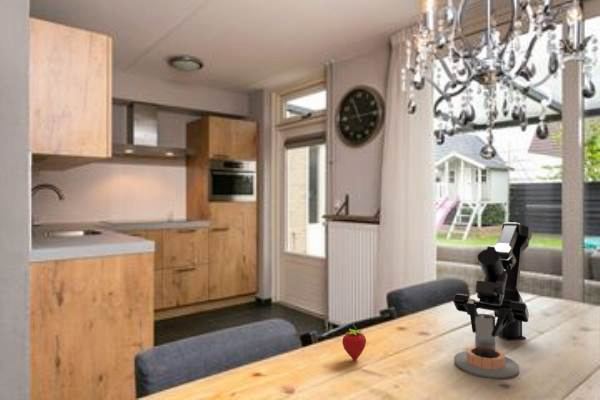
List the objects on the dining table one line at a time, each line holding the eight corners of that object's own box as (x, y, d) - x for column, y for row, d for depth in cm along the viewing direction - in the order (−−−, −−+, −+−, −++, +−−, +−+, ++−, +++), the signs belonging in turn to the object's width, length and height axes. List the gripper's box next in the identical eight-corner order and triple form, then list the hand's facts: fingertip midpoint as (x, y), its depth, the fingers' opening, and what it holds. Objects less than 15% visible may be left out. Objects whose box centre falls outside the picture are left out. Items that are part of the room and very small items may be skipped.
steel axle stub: (481, 351, 110) (481, 312, 110) (499, 357, 106) (498, 316, 106) (471, 356, 107) (471, 316, 107) (489, 362, 103) (489, 320, 103)
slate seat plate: (493, 352, 115) (493, 340, 115) (533, 376, 100) (533, 362, 100) (443, 356, 113) (442, 344, 113) (476, 381, 97) (476, 367, 97)
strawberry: (337, 360, 111) (337, 325, 111) (356, 353, 116) (355, 319, 116) (352, 366, 106) (352, 330, 106) (371, 359, 111) (370, 324, 111)
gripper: (454, 266, 115) (441, 311, 107) (526, 272, 103) (517, 325, 95) (463, 287, 121) (451, 332, 113) (532, 296, 109) (524, 347, 101)
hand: (483, 333), depth 105 cm, fingers closed on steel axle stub, 5 cm apart
